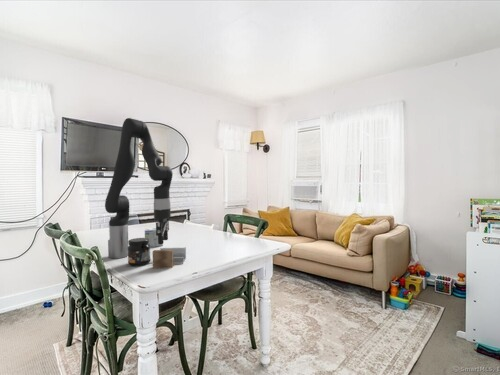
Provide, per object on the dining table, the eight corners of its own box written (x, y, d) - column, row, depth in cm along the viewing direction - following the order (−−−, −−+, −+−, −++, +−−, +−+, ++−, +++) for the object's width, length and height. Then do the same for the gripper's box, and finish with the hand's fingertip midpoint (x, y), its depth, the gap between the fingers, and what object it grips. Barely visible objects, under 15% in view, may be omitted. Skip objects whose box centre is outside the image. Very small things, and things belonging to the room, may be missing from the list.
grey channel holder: (156, 264, 134) (155, 252, 134) (161, 259, 143) (160, 247, 143) (182, 263, 135) (182, 251, 135) (186, 258, 144) (185, 247, 144)
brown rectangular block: (152, 268, 129) (152, 251, 129) (154, 266, 132) (154, 250, 131) (172, 267, 130) (171, 251, 129) (173, 266, 132) (173, 249, 132)
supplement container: (124, 263, 137) (124, 239, 136) (145, 259, 144) (144, 236, 144) (133, 268, 129) (132, 243, 129) (154, 263, 137) (153, 239, 136)
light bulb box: (162, 243, 178) (162, 227, 178) (163, 246, 172) (162, 229, 172) (145, 245, 175) (144, 228, 175) (144, 247, 169) (144, 230, 168)
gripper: (158, 206, 137) (159, 239, 137) (149, 209, 123) (150, 245, 123) (173, 206, 137) (174, 238, 138) (166, 209, 123) (167, 245, 123)
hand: (163, 242), depth 130 cm, fingers open, 8 cm apart
